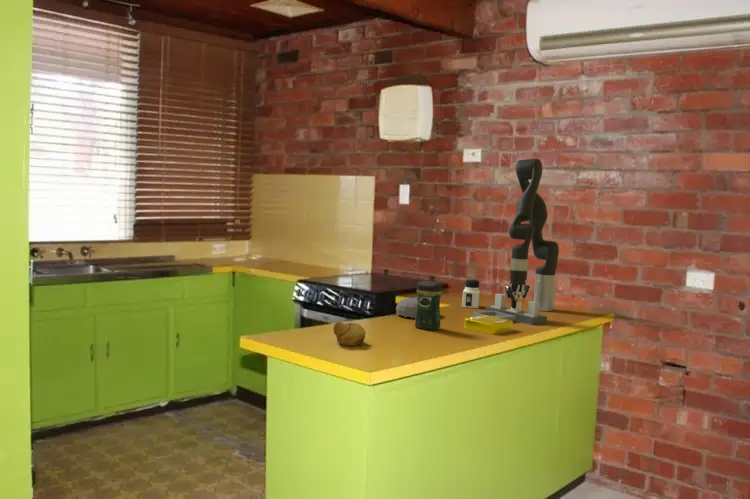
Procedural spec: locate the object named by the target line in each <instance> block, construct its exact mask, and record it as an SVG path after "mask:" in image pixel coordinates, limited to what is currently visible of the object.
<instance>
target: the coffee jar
mask: <svg viewBox="0 0 750 499" xmlns="http://www.w3.org/2000/svg"><path fill="white" fill-rule="evenodd" d="M416 287H417V288H416V294H417V297H418V305H417V313H416V318H415V319H414V326H415V328H417V329H420V328H422V329H421V330H426V329H428V331H431V330H432V331H433V330H434V331H436V330H439V329H440V328H441V310H440V309H441V306H440V305H441V302H440V301H441V296H442V294H443V285H442V283H441V282H437V281H432V280H431V281H430V280H422V281H421V280H420V281H418V283H417V286H416Z"/></svg>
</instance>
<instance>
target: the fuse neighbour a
mask: <svg viewBox="0 0 750 499" xmlns="http://www.w3.org/2000/svg"><path fill="white" fill-rule="evenodd" d="M494 295H495V296H494V305H493V306H496V307H501V309H505V306H506V297H507V294H503V293H495V294H494Z"/></svg>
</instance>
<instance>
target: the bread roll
mask: <svg viewBox="0 0 750 499" xmlns="http://www.w3.org/2000/svg"><path fill="white" fill-rule="evenodd" d="M333 333H334V335H335V336H336V337H335V338H336V342H337V343H338V345H339V344H340V346H345V347H346V346H348V347H352V346H353V347H355V346H357V345H359V344H362V343H363V342H364V341H365V339H366V330H365V327H363V326H362V325H361V324H360V323H357V322H347V323H344V322H342V321H338V322H336V323H334V324H333Z"/></svg>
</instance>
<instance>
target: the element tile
mask: <svg viewBox="0 0 750 499" xmlns="http://www.w3.org/2000/svg"><path fill="white" fill-rule="evenodd" d="M463 323H464V324H463V326H464V329H466V330H470V331H476V332H480V333H484V334H489V335H498V334H504V333H508V332H513V329H514V328H513V327H514V322H513V321H512V320H508V319H503V318H497V317H492V316H487V315H481V316H475V317H472V316H470V317H465V318H464V322H463Z"/></svg>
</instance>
